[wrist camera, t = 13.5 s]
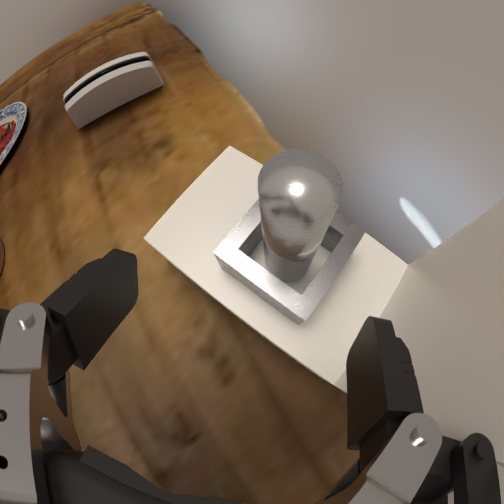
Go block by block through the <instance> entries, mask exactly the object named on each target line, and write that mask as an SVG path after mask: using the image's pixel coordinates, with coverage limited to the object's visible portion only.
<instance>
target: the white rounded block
mask: <svg viewBox="0 0 504 504" xmlns="http://www.w3.org/2000/svg"><path fill="white" fill-rule="evenodd" d="M163 85H164V83H163V80H162V78H161V75H160V73H159V72H158V70H157V68H156V66H155V65H154V63H153V61H152V59H151V58H150V56H149V55H148V54H147V53H146V52H139V53H135V54H130V55H127V56H123V57H120V58H118V59H115V60H113V61H110V62H108V63H106V64H104V65H102V66H100V67H98V68H96V69H94V70H93V71H91V72H89V73H88V74H86V75H85V76H84V77H82V78H81V79H80V80H78V81H77V82H76V83H75V84H74V85H72V86H71V87H70V88H69V89H68V90H67V91H66V92H65V94H64V100H63V101H64V104H65V109H66V111H67V113H68V115H69V116H70V118H71V119H72V121H73V122H74V124H75V125H76V127H77V128H78V130H79V129H80V128H82V127H83V126H85V125H87V124H88V123H90V122H92V121H94V120H95V119H97V118H99V117H101V116H102V115H104V114H106V113H108V112H110V111H111V110H113V109H115V108H117V107H119V106H121V105H123V104H125V103H127V102H129V101H131V100H133V99H135V98H137V97H139V96H141V95H143V94H145V93H147V92H150V91H152V90H154V89H156V88H159V87H161V86H163Z"/></svg>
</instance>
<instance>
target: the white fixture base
mask: <svg viewBox="0 0 504 504" xmlns="http://www.w3.org/2000/svg"><path fill="white" fill-rule="evenodd" d="M262 166H263V165H262V164H260V163H258V162H257V161H255V160H253V159H252V158H250V157H248V156H246V155H245V154H243V153H241V152H240V151H238V150H236V149H234V148H232V147H231V146H229V147H228V148H227V149H226V150H225V151H224V152H223V153H222V154H221V155H220V156H219V157H218V158H217V159H216V160H215V161H214V162H213V163H212V164H211V165H210V166H209V167H208V168H207V169H206V170H205V171H204V172H203V173H202V174H201V175H200V176H199V177H198V178H197V179H196V180H195V181H194V182H193V183H192V184H191V185H190V187H189V188H188V189H187V190H186V191H185V192H184V193H183V194H182V195H181V196H180V197H179V198H178V199H177V201H176V202H175V203H174V204H173V205H172V206H171V207H170V208H169V209H168V211H167V212H166V213H165V214H164V215H163V216H162V217H161V218H160V220H159V221H158V222H157V223H156V224H155V225H154V226H153V228H152V229H151V230H150V231H149V232H148V233H147V235H146V236H145V237H144V239H145V240H146V241H147V242H148V243H149V244H150V245H151V246H152V247H153V248H154V249H155V250H157V251H158V252H159V253H160V254H161V255H162V256H163V257H164V258H165V259H166V260H167V261H168V262H170V263H171V264H172V265H173V266H174V267H176V268H177V269H178V270H179V271H180V272H181V273H183V274H184V275H185V276H186V277H187V278H189V279H190V280H191V281H192V282H194V283H195V284H196V285H197V286H198V287H200V288H201V289H202V290H203V291H205V292H206V293H207V294H208V295H210V296H211V297H212V298H213V299H215V300H216V301H217V302H218V303H220V304H221V305H222V306H223V307H225V308H226V309H227V310H229V311H230V312H231V313H232V314H234V315H235V316H236V317H238V318H239V319H240V320H241V321H243V322H244V323H245V324H247V325H248V326H249V327H251V328H252V329H253V330H255V331H256V332H257V333H259V334H260V335H261V336H263V337H264V338H265V339H267V340H268V341H269V342H271V343H272V344H273V345H275V346H276V347H277V348H279V349H280V350H282V351H283V352H284V353H286V354H287V355H288V356H290V357H291V358H293V359H294V360H295V361H297V362H298V363H300V364H301V365H303V366H304V367H305V368H307V369H308V370H310V371H311V372H313V373H314V374H315V375H317V376H319V377H320V378H322V379H324V380H326V381H327V382H329V383H331V384H333V385H334V386H336V387H337V388H339V389H340V390H342V391H343V392H345V393H346V394H347V375H346V361H347V356H348V353H349V350H350V348H351V346H352V344H353V342H354V341H355V339H356V337H357V335H358V333H359V331H360V330H361V328H362V326H363V324H364V322H365V320H366V319H367V317H369V316H373V317H378V318H382V319H387V320H391V322H392V324H393V327H394V331H395V335H396V337H398V338H401V339H402V340H403V342H404V343H405V345H406V346H407V348H408V349H409V352H410V355H411V359H412V365H413V367H414V371H415V374H414V375H416V379H417V383H418V387H419V392H420V396H421V401H422V406H423V411H424V414H426V415H428V416H430V417H431V418H433V419H434V420H435V421H436V422H437V424H438V425H439V427H440V429H441V432H442V435H443V436H446V437H449V438H452V439H455V440H458V441H463V440H464V439H465V438H467V437H468V436H469V435H471V434H473V433H481V434H483V435H485V436H486V437H487V438H488V439H489V440H490V442H491V443H492V446H493V449H494V453H495V459H496V464H497V465H500V466H503V467H504V199H503V200H501V201H500V202H499V203H497V204H496V205H495V206H494V207H492V208H491V209H490V210H488V211H487V212H486V213H484V214H483V215H482V216H480V217H479V218H477V219H476V220H475V221H473V222H472V223H471V224H469V225H468V226H467V227H465V228H464V229H462V230H461V231H459V232H458V233H456V234H455V235H453V236H452V237H451V238H449V239H448V240H446V241H445V242H443V243H442V244H440V245H439V246H437V247H436V248H434V249H433V250H431V251H429V252H428V253H426V254H425V255H423V256H422V257H420V258H419V259H417V260H415V261H414V262H412V263H411V264H409V265H407V264H406V263H405V262H404V261H402V260H401V259H400V258H398V257H397V256H396V255H394V254H393V253H392V252H391V251H389V250H388V249H387V248H385V247H384V246H383V245H381V244H380V243H379V242H377V241H376V240H375V239H373V238H372V237H370V236H369V235H368V234H366V233H365V234H364V235H363V237H362V239H361V240H360V242H359V243H358V245H357V247H356V248H355V250H354V251H353V253H352V254H351V256H350V258H349V259H348V261H347V262H346V264H345V265H344V267H343V268H342V270H341V271H340V273H339V274H338V276H337V277H336V279H335V280H334V282H333V283H332V285H331V286H330V288H329V289H328V291H327V292H326V294H325V295H324V296H323V298H322V299H321V301H320V302H319V304H318V305H317V306H316V308H315V309H314V311H313V312H312V313H311V315H310V316H309V318H308V319H307V320H306V322H304V323H302V324H300V325H297V324H296V323H294V322H293V321H292V320H290V319H289V318H288V317H286V316H285V315H283V314H282V313H281V312H279V311H278V310H277V309H275V308H274V307H273V306H271V305H270V304H269V303H267V302H266V301H265V300H263V299H262V298H260V297H259V296H258V295H256V294H255V293H254V292H252V291H251V290H250V289H248V288H247V287H246V286H245V285H243V284H242V283H241V282H239V281H238V280H237V279H235V278H234V277H233V276H231V275H230V274H229V273H227V272H226V271H225V270H223V269H222V268H221V267H220V265H219V263H218V261H217V259H216V257H215V255H214V254H213V252H214V250H215V249H216V248H217V247H218V246H219V244H220V243H221V242H222V241H223V240H224V238H225V237H226V236H227V235H228V234H229V232H230V231H231V230H232V229H233V228H234V227H235V225H236V224H237V223H238V222H239V221H240V219H241V218H242V217H243V216H244V215H245V214H246V212H247V211H248V210H249V209H250V208H251V207H252V205H253V204H254V203H255V202H256V201H257V200H258V198H259V195H258V185H257V183H258V175H259V172H260V170H261V168H262ZM330 254H331V252H330V251H328V250H327V249H325V248H324V247H323V246H321V245H320V246H319V248H318V250H317V252H316V254H315V256H314V258H313V260H312V262H311V264H310V266H309V268H308V270H307V272H306V274H305V275H304V276H303V277H302V278H300V279H299V280H297V281H294V282H284V283H285V284H287V285H288V286H289V287H291V288H292V289H293V290H295V291H296V292H298V293H299V294H300V295H302V293H303V292H304V291H305V289H306V288H307V286H308V285H309V284H310V282H311V281H312V279H313V278H314V277H315V275H316V274H317V272H318V271H319V270H320V268H321V267H322V265H323V264H324V262H325V261H326V259H327V258H328V257H329V255H330ZM249 257H250V258H251V259H252V260H254V261H255V262H256V263H258V264H259V265H261V266H262V267H263V268H265V269H266V270H267V268H266V265H265V257H264V246H263V239H262V241H261V242H260V243H259V244H258V245H257V247H256V248H255V249H254V250H253V252H252V253H251V254H250V255H249Z"/></svg>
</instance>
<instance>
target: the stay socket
mask: <svg viewBox="0 0 504 504" xmlns="http://www.w3.org/2000/svg"><path fill="white" fill-rule="evenodd" d="M364 234H365V232H364V231H363V230H361V229H360V228H359V227H357V226H356V225H354V224H353V223H351V222H350V221H349V220H347V219H346V218H344V217H343V216H342V215H340V214H339V213H337V212H335V214H334V216H333V218H332V220H331V223H330V225H329V227H328V229H327V231H326V233H325V235H324V237H323V240H322V242H321V244H320V245H321V246H323V247H324V248H325V249H327V250H328V251H330V252H331V254H330V255H329V257H328V258H327V259H326V261H325V262H324V264H323V265H322V267H321V268H320V270H319V271H318V272H317V274H316V275H315V277H314V278H313V279H312V281H311V282H310V284H309V285H308V286H307V288H306V289H305V291H304V292H303V293H302V295H300V294H299V293H298V292H296V291H295V290H293V289H292V288H291V287H289V286H288V285H287V284H285V283H284V282H282V281H281V280H280V279H278V278H277V277H276V276H274V275H273V274H271V273H270V272H269V271H267V270H266V269H265V268H263V267H262V266H261V265H259V264H258V263H256V262H255V261H254V260H252V259H251V258H250V257H249V255H250V254H251V253H252V252H253V250H254V249H255V248H256V247H257V245H258V244H259V243H260V242H261V241H262V239H263V236H262V225H261V215H260V205H259V198H258V200H257V201H256V202H255V203H254V204H253V205H252V207H251V208H250V209H249V210H248V211H247V212H246V214H245V215H244V216H243V217H242V218H241V219H240V221H239V222H238V223H237V224H236V225H235V227H234V228H233V229H232V230H231V231H230V232H229V234H228V235H227V236H226V237H225V238H224V240H223V241H222V242H221V243H220V244H219V246H218V247H217V248H216V249H215V250H214V252H213V254H214V255H215V257H216V259H217V261H218V263H219V265H220V267H221V268H222V269H223V270H225V271H226V272H227V273H229V274H230V275H231V276H233V277H234V278H235V279H237V280H238V281H239V282H241V283H242V284H243V285H245V286H246V287H247V288H248V289H250V290H251V291H252V292H254V293H255V294H256V295H258V296H259V297H260V298H262V299H263V300H265V301H266V302H267V303H269V304H270V305H271V306H273V307H274V308H275V309H277V310H278V311H279V312H281V313H282V314H283V315H285V316H286V317H288V318H289V319H290V320H292V321H293V322H294V323H296V324H297V325H300V324H302V323H304V322H306V320H307V319H308V318H309V316H310V315H311V313H312V312H313V311H314V309H315V308H316V306H317V305H318V304H319V302H320V301H321V299H322V298H323V296H324V295H325V294H326V292H327V291H328V289H329V288H330V286H331V285H332V283H333V282H334V280H335V279H336V277H337V276H338V274H339V273H340V271H341V270H342V268H343V267H344V265H345V264H346V262H347V261H348V259H349V258H350V256H351V254H352V253H353V251H354V250H355V248H356V247H357V245H358V243H359V242H360V240H361V239H362V237H363V235H364Z"/></svg>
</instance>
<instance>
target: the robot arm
mask: <svg viewBox="0 0 504 504" xmlns="http://www.w3.org/2000/svg"><path fill="white" fill-rule="evenodd" d="M3 262H4V247H3V243H2V241H1V240H0V274H1V271H2V267H3ZM137 297H138V276H137V259H136V256H135V255H134V254H132V253H129V252H125V251H122V250H119V249H113V250H111V251H110V252H109V253H108V254H107V255H105V256H104V257H103V258H102V259H100V258H99V259H97V260H94V261H92V262H90V263H87V264H86V265H85V266H83V267H82V268H81V269H80V270H79V271H77V274H74V275H73V276H72V277H70V278H69V281H68V280H67V281H66V282H65V283H63V284H62V285H61V286H60V287H59V288H58V289H57V290H55V291H54V292H53V293H52V294H51V295H50V296H49V297H48V298H47V299H45V300H44V301H43V302H42V303H41V304H40V305H39V304H37V303H33V302H28V303H23V304H20V305H18V306H16V307H15V308H13V309H12V310H11V311H9V310H4V309H0V504H243V503H239V502H234V501H230V500H225V499H221V498H212V497H196V496H185V495H176V494H170V493H167V492H164V491H162V490H161V489H159V488H158V487H156V486H155V485H153V484H152V483H150V482H149V481H148V480H146V479H145V478H143V477H142V476H140V475H139V474H138V473H136V472H135V471H134V470H132V469H131V468H130V467H128V466H127V465H125V464H123V463H121V462H119V461H117V460H115V459H113V458H111V457H109V456H107V455H105V454H103V453H101V452H100V451H98V450H96V449H94V448H92V447H90V446H89V445H88V447H87V448H86V450H85V452H82V450H81V445H80V441H79V438H78V435H77V433H76V430H75V427H74V424H73V417H72V406H71V392H70V374H69V370H68V369H69V368H70V367H71V365H72V364H73V365H75V366H77V367H79V368H81V369H82V370H85V368H86V367H87V366H88V364H89V363H90V362H91V360H92V359H93V358H94V356H95V355H96V354H97V352H98V351H99V350H100V349H101V347H102V346H103V345H104V343H105V342H106V341H107V340H108V338H109V337H110V336H111V334H112V333H113V332H114V331H115V329H116V328H117V327H118V326H119V324H120V323H121V322H122V321H123V319H124V318H125V317H126V316H127V314H128V313H129V312H130V311H131V309H132V308H133V307H134V305H135V303H136V301H137ZM414 374H415V371H414V367H413V365H412V359H411V355H410V352H409V349H408V348H407V346H406V345H405V343H404V342H403V340H402V339H401V338H398V337H396V335H395V331H394V327H393V324H392V322H391V320H387V319H382V318H378V317H373V316H369V317H367V319H366V320H365V322H364V324H363V326H362V328H361V330H360V331H359V333H358V335H357V337H356V339H355V341H354V342H353V344H352V346H351V348H350V350H349V353H348V356H347V361H346V375H347V411H348V439H347V449H350V450H360V458H359V459H357V460H356V461H355V462H354V464H353V465H352V466H351V467H350V468H349V469H348V471H347V472H346V473H345V474H344V475H343V476H342V477H341V478H340V479H339V481H338V482H337V483H336V484H335V485H334V486H333V487H332V488H331V489H330V490H329V491H328V492H327V493H326V494H325V495H324V496H323V497H322V498H321V499H320V500H319V501H318V502H317V503H315V504H448V496H447V494H449V493H451V492H452V491H454V504H501V497H500V487H499V478H498V471H497V465H496V459H495V453H494V449H493V446H492V443H491V442H490V440H489V439H488V438H487V437H486V436H485V435H483V434H481V433H473V434H471V435H469V436H468V437H467V438H465V439H464V440H463V441H458V440H455V439H452V438H449V437H446V436H443V435H442V432H441V429H440V427H439V425H438V424H437V422H436V421H435V420H434V419H433V418H431V417H430V416H428V415H426V414H424V411H423V406H422V401H421V396H420V392H419V387H418V383H417V379H416V375H414Z"/></svg>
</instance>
